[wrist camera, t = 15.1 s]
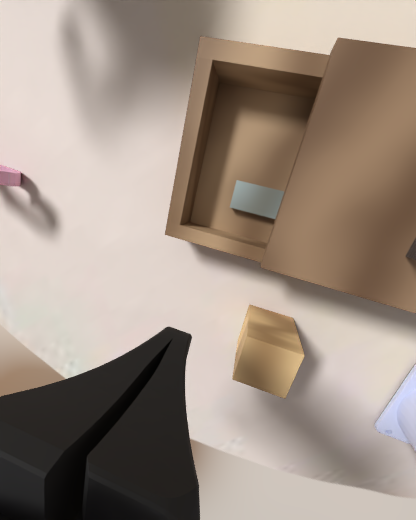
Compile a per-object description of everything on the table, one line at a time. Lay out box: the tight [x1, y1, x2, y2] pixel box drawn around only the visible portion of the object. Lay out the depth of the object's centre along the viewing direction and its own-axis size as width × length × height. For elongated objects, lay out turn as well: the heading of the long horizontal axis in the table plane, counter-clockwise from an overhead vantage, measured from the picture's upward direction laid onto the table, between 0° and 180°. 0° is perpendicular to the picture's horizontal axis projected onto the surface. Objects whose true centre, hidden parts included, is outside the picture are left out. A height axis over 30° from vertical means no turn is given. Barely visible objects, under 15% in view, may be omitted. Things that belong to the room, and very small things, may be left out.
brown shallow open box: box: [165, 36, 330, 262], centre depth 15 cm, size 14×12×3 cm
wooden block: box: [232, 305, 305, 399], centre depth 18 cm, size 4×4×5 cm
